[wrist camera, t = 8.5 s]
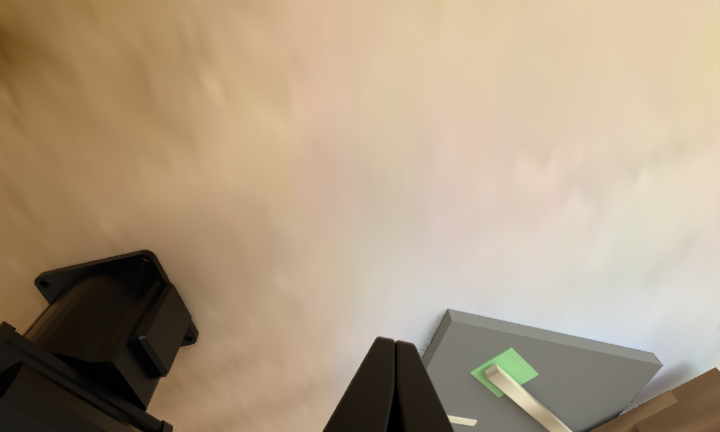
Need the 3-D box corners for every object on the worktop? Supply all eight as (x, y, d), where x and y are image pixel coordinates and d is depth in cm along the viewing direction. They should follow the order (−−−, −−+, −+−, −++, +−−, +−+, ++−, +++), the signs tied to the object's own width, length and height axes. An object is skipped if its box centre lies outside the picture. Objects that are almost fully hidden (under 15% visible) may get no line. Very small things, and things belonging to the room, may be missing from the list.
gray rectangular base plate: (390, 421, 30) (391, 435, 30) (448, 309, 26) (452, 322, 25) (570, 450, 33) (577, 464, 32) (653, 353, 28) (664, 366, 27)
